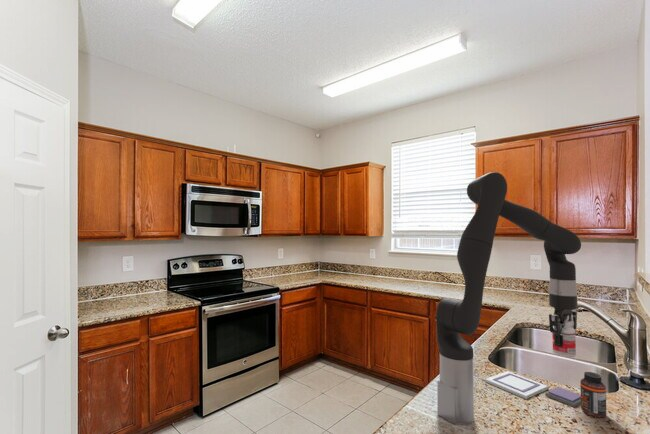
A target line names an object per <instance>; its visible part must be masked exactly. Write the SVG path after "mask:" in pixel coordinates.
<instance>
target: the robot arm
mask: <svg viewBox="0 0 650 434" xmlns="http://www.w3.org/2000/svg"><path fill="white" fill-rule="evenodd" d="M466 187H467V188H466V194H467V197H468V198H469V200H470V201H471V202H473V203H474V204H475V205H477V208H476V211H475V213H474V214H473V216H472V218H471V219H470V220H469V222H468V224H467V226H466V227H465V228H464V230H463V232H462V234H461V238H460V240H459V243H458V248H457V252H456V253H457V254H456V259H457V261H458V262H457V263H458V266H459V269H460V270H461V274H462V277H463V279H464V294H463V299H457V298H451V297H443V298H442V299H440V300H439V302H438V304H437V307H436V311H435V313H436V314H435V322H436V340H437V341H436V342H437V345H438V348H439V380H438V381H437V415H438V416H440V417H441V418H444V419H445V420H447V421H449V422H450V423H452V424H453V425H460V424H461V425H467V424H471V423H472V422H474V420H475V407H474V406H475V405H474V404H475V403H474V402H475V400H474V399H475V393H474V391H475V388H474V383H475V382H474V377H475V376H474V371H475V370H474V365H475V363H474V348H473V346H472V345H471V344H470V343H469V342H468V341H466V340H465V338H463V337H462V336H461V335H460V334H462V335H466V336H472V335H473V334H475V333H476V332H477V330H478V329H479V325H480V321H481V314H482V304H483V296H484V288H485V282H486V277H487V271H488V268H489V263H490V259H491V255H492V249H493V245H494V239H495V234H496V230H497V227H498V223H499V222H498V221H499V218H500V217H501V218H503V219H505V220H507V221H509V222H511V223H513V224H514V225H516V226H517V227H519V228H520V229H522V230H523V231H524V232H525V233H528V235H531V236H532V237H533V238H534V239H537V240H540V241H543V249H544V253H545V256H546V260H547V263H548V265H549V283H548V297H549V298H548V305H549V306H550V307H551V308H554V312H553V314H552V313H549V314H548V321H549V333H551V334H552V333H553V334H554V344H555V346H558V347H563V332H564V329H566V326H567V321H569V320H570V321H572V326H571V327H572V328H573V329H574V330H575V331H576V330H577V327H578V326H577V325H578V324H577V323H578V321H577V320H578V312H577V311H576V310H578V286H577V273H576V272H577V271H576V270H577V269H576V265H575V263H573V262H571V261H569V260H568V259H567V256H566V255H573V254H576V253H578V252H579V251H580V250H581V248H582V242H581V238H580V237H579V236H578V235H577V234H575V233H574V232H573V231H572V230H569V229H567V228H565V227H563V226H561V225H558V224H555V223H554V222H552V221H550V219H547V218H546V217H545V216H543V215H542V214H541V213H539V212H538V211H536V210H534V209H532V208H529V207H526V206H523V205H521V204H517V203H515V202H512V201H509V200H507V199H506V196H507V193H508V182H507V179H506V177H505V176H504V175H503V174H501V173H500V172H498V171H496V172H495V171H493V172H492V171H491V172H488V173H486V174H483V175H482V176H479V177H477V178H476V179H473V180H472V181H470V182H469V183H468V185H467V186H466ZM560 324H563V325H560ZM553 326H554V328H553ZM560 328H561V329H560Z"/></svg>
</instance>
